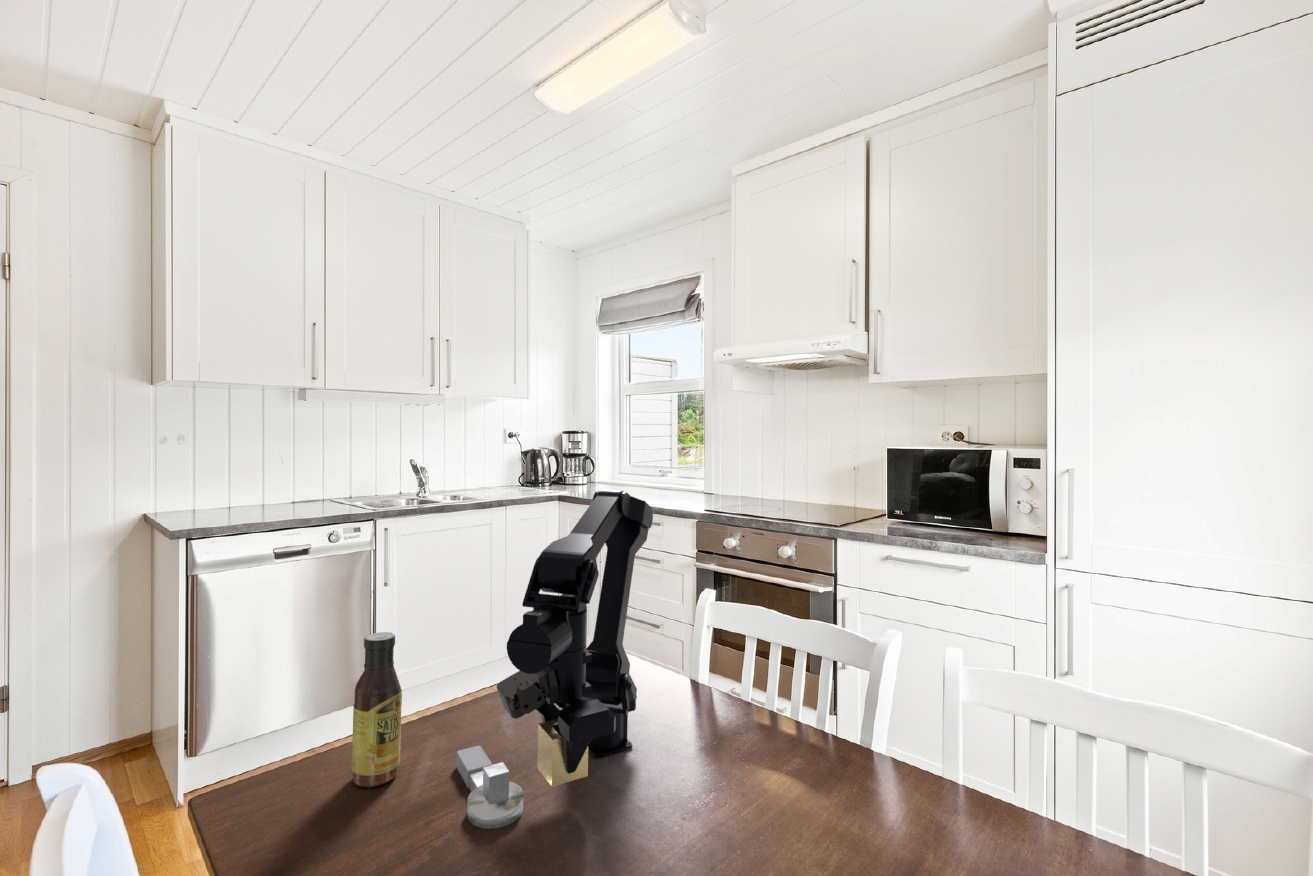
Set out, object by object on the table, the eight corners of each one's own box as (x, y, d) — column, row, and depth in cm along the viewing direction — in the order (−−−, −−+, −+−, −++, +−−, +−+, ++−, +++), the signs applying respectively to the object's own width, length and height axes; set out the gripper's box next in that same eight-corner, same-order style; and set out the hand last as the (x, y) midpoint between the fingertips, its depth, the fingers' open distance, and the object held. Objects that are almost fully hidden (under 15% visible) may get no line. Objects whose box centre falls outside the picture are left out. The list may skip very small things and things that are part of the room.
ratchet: (531, 817, 80) (531, 775, 80) (476, 835, 76) (476, 791, 76) (491, 758, 94) (492, 721, 94) (443, 771, 90) (444, 733, 90)
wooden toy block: (571, 758, 86) (572, 715, 86) (587, 776, 82) (588, 730, 82) (537, 768, 83) (538, 723, 83) (551, 787, 79) (552, 740, 79)
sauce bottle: (381, 793, 85) (383, 646, 84) (341, 786, 86) (342, 642, 85) (410, 767, 91) (411, 631, 91) (371, 761, 92) (373, 627, 92)
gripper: (482, 634, 86) (480, 746, 86) (531, 682, 70) (529, 820, 70) (558, 621, 92) (556, 727, 92) (619, 664, 76) (616, 791, 76)
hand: (562, 762), depth 83 cm, fingers closed on wooden toy block, 5 cm apart
